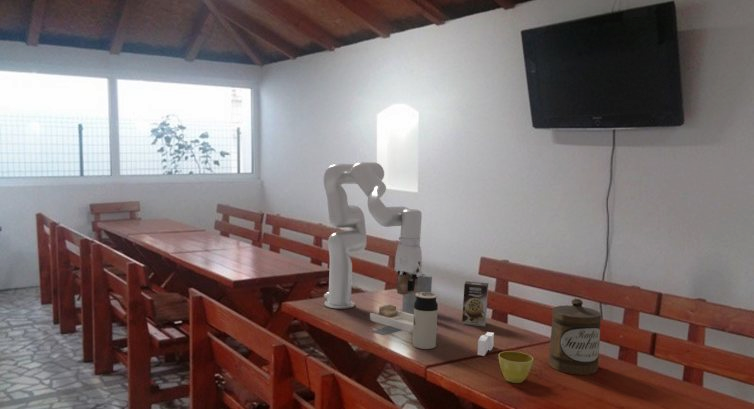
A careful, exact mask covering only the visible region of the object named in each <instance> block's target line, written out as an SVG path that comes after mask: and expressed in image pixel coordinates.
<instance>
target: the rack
mask: <svg viewBox="0 0 754 409" xmlns="http://www.w3.org/2000/svg"><path fill="white" fill-rule="evenodd" d="M396 312H397V316H395V317H391V318H388V317H384V316H381V315H378V313H374V312H370V313H369V321H371V322H375V323H377V324H381V325H385V326H386V327H389V326H390V327H394V328H397V329H400V330H401V331H405V332H408V333H411V334H413V321H414V315H413V314H409V313H405V312H402V310H398V309H396Z"/></svg>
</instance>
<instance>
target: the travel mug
mask: <svg viewBox="0 0 754 409" xmlns="http://www.w3.org/2000/svg"><path fill="white" fill-rule="evenodd" d="M415 295H416V301H415V303H414V321H413V333H412V346H413V347H414V348H416V349H420V350H431V349H434V348H436V347H437V345H436V344H437V327H438V326H437V324H438V308H439V306H438V302H437V298H438V294H437V293H434V292H431V293H430V292H419V293H416V294H415Z"/></svg>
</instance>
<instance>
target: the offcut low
mask: <svg viewBox="0 0 754 409" xmlns="http://www.w3.org/2000/svg"><path fill="white" fill-rule="evenodd" d="M377 314H378V315H381V316H384V317H388V318H391V317H395V316H397V312H396V313H392V314H388V315H384V314H380V313H379V312H378V313H377Z"/></svg>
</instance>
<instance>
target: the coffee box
mask: <svg viewBox="0 0 754 409" xmlns="http://www.w3.org/2000/svg"><path fill="white" fill-rule="evenodd" d="M463 287H464V288H463V301H462V302H463V304H462V315H461V316H462V318H461V324H463V325H468V326H478V327H486V323H487V310H488V309H487V306H488V305H487V304H488V293H489V291H488V290H489V283H488V282H479V281H470V280H469V281H467V280H466V281H465V282H464V285H463Z"/></svg>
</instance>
